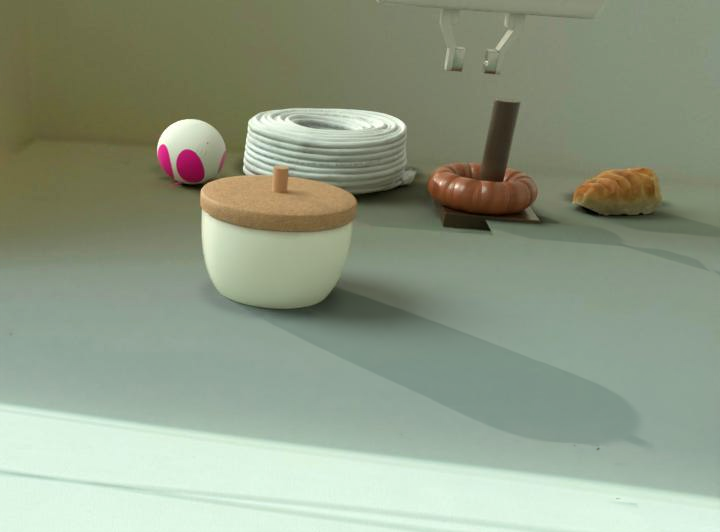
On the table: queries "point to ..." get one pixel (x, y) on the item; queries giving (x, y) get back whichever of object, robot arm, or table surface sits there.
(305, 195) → the trinket box
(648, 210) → the pastry
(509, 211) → the ring
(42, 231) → the table surface
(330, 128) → the cable
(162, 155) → the stress ball
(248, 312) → the table surface
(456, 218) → the stand
